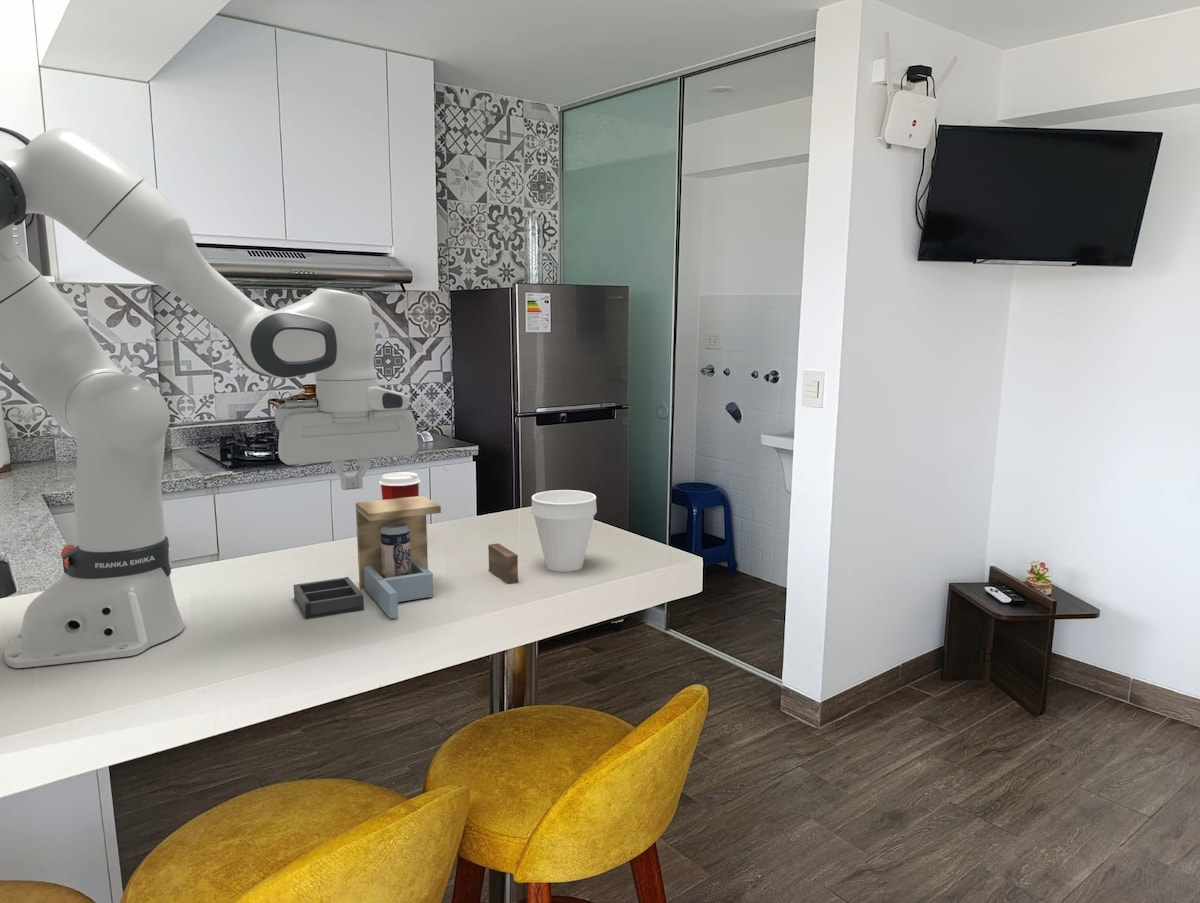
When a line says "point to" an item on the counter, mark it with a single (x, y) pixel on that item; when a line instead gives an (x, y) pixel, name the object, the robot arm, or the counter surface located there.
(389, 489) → the coffee cup
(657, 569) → the counter surface
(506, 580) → the end stop
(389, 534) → the beer can
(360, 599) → the tray
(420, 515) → the tunnel
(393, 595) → the blue grey drawer
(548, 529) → the cup
